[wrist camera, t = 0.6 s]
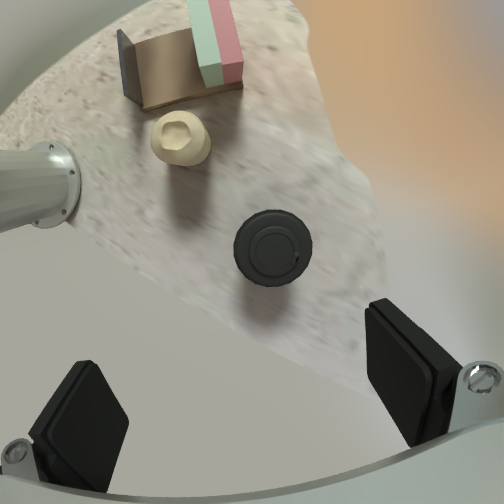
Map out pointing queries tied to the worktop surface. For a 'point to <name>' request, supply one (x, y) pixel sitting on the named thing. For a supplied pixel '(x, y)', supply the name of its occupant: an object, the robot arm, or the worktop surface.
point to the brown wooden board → (172, 70)
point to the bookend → (129, 68)
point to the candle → (180, 139)
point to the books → (216, 41)
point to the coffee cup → (272, 248)
